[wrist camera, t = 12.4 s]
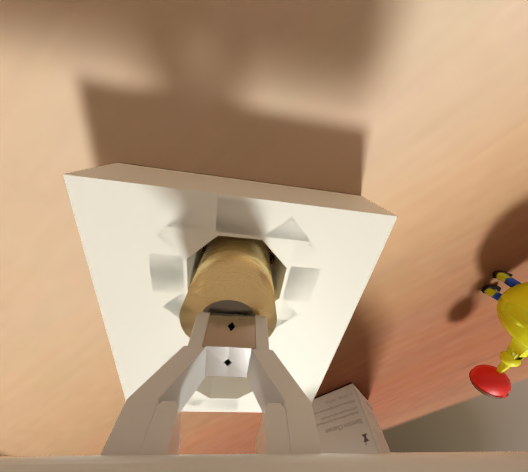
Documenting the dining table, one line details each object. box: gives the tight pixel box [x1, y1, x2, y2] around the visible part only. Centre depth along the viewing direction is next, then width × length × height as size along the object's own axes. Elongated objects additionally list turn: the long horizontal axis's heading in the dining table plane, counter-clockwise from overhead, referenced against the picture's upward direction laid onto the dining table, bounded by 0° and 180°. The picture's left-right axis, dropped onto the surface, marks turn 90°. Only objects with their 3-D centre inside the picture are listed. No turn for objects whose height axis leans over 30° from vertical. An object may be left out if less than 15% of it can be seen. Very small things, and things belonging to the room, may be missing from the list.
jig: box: [63, 163, 398, 412], centre depth 16 cm, size 20×16×4 cm
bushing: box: [179, 235, 277, 338], centre depth 12 cm, size 4×4×7 cm
